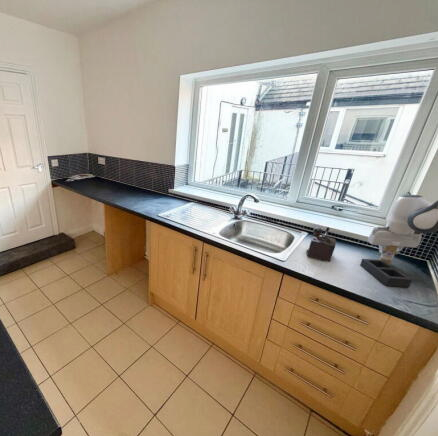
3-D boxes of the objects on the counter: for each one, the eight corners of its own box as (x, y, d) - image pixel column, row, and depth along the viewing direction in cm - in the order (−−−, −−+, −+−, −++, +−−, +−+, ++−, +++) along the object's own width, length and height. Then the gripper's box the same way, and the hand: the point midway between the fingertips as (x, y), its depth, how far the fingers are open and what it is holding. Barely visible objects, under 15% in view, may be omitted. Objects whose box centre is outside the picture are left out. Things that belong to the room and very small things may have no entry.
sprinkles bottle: (379, 264, 122) (389, 241, 116) (376, 260, 125) (386, 237, 120) (391, 267, 120) (402, 243, 115) (388, 262, 123) (398, 239, 118)
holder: (379, 267, 120) (382, 260, 118) (408, 287, 104) (412, 279, 103) (359, 265, 121) (362, 258, 119) (385, 285, 105) (389, 277, 104)
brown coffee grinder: (307, 248, 137) (316, 218, 130) (331, 254, 131) (341, 223, 124) (303, 259, 125) (312, 228, 118) (329, 267, 119) (340, 234, 112)
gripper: (379, 228, 114) (369, 254, 119) (428, 231, 112) (416, 258, 116) (369, 223, 120) (360, 248, 125) (415, 226, 117) (404, 251, 122)
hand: (387, 253), depth 120 cm, fingers closed on sprinkles bottle, 4 cm apart
